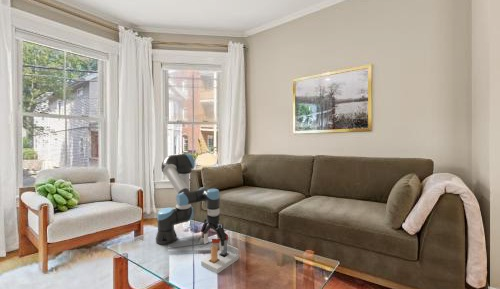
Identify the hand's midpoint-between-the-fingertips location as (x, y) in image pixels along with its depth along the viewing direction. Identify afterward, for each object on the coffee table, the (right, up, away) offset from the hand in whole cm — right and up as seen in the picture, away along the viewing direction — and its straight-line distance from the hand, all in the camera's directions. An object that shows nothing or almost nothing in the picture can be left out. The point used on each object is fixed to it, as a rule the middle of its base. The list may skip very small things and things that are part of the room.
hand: (213, 246), depth 165 cm
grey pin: (+6, -11, +8) cm, 15 cm away
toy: (+2, -9, +24) cm, 26 cm away
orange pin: (0, -12, +1) cm, 12 cm away
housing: (+4, -12, +4) cm, 13 cm away
